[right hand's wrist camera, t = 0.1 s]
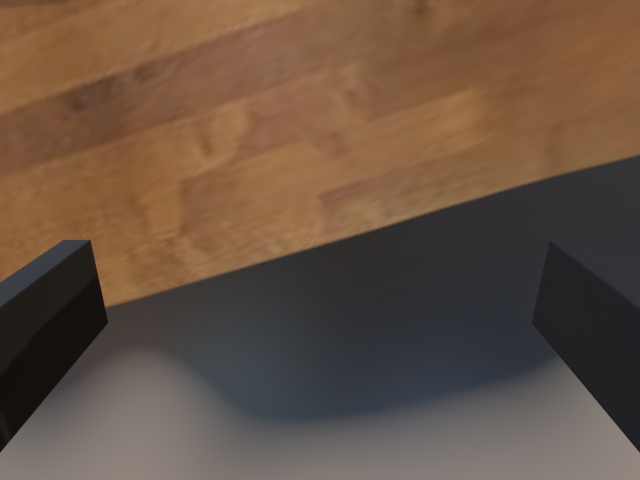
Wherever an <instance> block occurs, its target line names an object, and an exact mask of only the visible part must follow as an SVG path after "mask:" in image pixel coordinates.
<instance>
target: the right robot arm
mask: <svg viewBox="0 0 640 480" xmlns="http://www.w3.org/2000/svg"><path fill="white" fill-rule="evenodd" d="M107 323H108V320H107V315H106V311H105V306H104V301H103V297H102V292H101V287H100V283H99V278H98V274H97V269H96V264H95V260H94V255H93V250H92V246H91V241H90V240H63V241H61V242H60V243H58V244H57V245H55V246H54V247H52V248H51V249H50V250H48V251H47V252H45V253H44V254H42V255H41V256H39V257H38V258H36V259H35V260H33V261H32V262H30V263H29V264H27V265H26V266H24V267H23V268H21V269H20V270H18V271H17V272H15V273H14V274H12V275H11V276H9V277H8V278H6V279H5V280H3V281H2V282H0V452H1V451H2V450H3V448H4V447H5V446H6V445H7V444H8V442H9V441H10V440H11V439H12V438H13V436H14V435H15V434H16V433H17V432H18V430H19V429H20V428H21V427H22V426H23V424H24V423H25V422H26V421H27V420H28V418H29V417H30V416H31V415H32V414H33V412H34V411H35V410H36V409H37V408H38V406H39V405H40V404H41V403H42V402H43V400H44V399H45V398H46V397H47V396H48V394H49V393H50V392H51V391H52V390H53V388H54V387H55V386H56V385H57V384H58V382H59V381H60V380H61V379H62V378H63V376H64V375H65V374H66V373H67V372H68V370H69V369H70V368H71V367H72V366H73V364H74V363H75V362H76V361H77V360H78V358H79V357H80V356H81V355H82V354H83V352H84V351H85V350H86V349H87V348H88V346H89V345H90V344H91V343H92V341H93V340H94V339H95V338H96V337H97V335H98V334H99V333H100V332H101V331H102V329H103V328H104V327H105V326H106V325H107ZM532 323H533V325H534V326H535V327H536V328H537V329H538V331H539V332H540V333H541V334H542V335H543V337H544V338H545V339H546V340H547V341H548V343H549V344H550V345H551V346H552V347H553V349H554V350H555V351H556V352H557V353H558V355H559V356H560V357H561V358H562V359H563V361H564V362H565V363H566V364H567V365H568V367H569V368H570V369H571V370H572V372H573V373H574V374H575V375H576V376H577V377H578V379H579V380H580V381H581V382H582V384H583V385H584V386H585V387H586V388H587V390H588V391H589V392H590V393H591V394H592V396H593V397H594V398H595V399H596V400H597V402H598V403H599V404H600V405H601V406H602V408H603V409H604V410H605V411H606V412H607V414H608V415H609V416H610V417H611V418H612V420H613V421H614V422H615V423H616V424H617V426H618V427H619V428H620V429H621V430H622V432H623V433H624V434H625V435H626V437H627V438H628V439H629V440H630V441H631V443H632V444H633V445H634V446H635V447H636V449H637V450H638V451H639V452H640V282H638V281H637V280H635V279H634V278H632V277H631V276H629V275H628V274H626V273H625V272H623V271H622V270H620V269H619V268H617V267H616V266H614V265H613V264H611V263H610V262H608V261H607V260H605V259H604V258H602V257H601V256H599V255H598V254H596V253H595V252H593V251H592V250H590V249H589V248H587V247H586V246H585V245H583V244H582V243H580V242H579V241H577V240H550V241H549V246H548V250H547V255H546V260H545V264H544V269H543V274H542V278H541V283H540V287H539V292H538V297H537V301H536V306H535V310H534V315H533V320H532Z"/></svg>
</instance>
